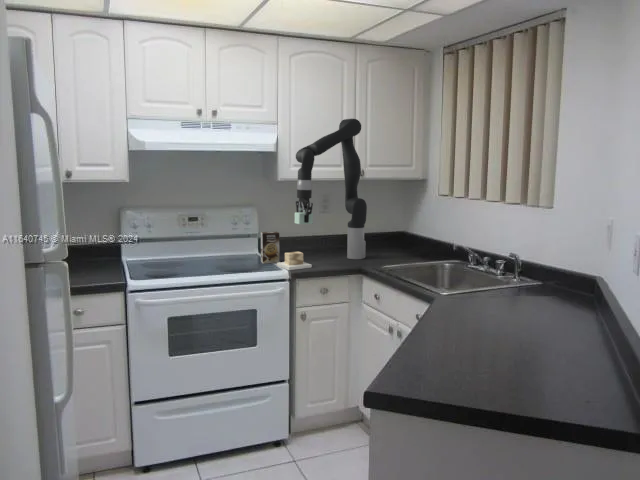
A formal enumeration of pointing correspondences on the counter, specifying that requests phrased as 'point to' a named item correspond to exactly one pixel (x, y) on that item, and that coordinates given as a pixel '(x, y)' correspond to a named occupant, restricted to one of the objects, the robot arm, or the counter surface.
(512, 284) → the counter surface
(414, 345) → the counter surface
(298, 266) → the baseplate
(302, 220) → the sage brick
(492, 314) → the counter surface
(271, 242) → the cookie box
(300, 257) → the maple brick
